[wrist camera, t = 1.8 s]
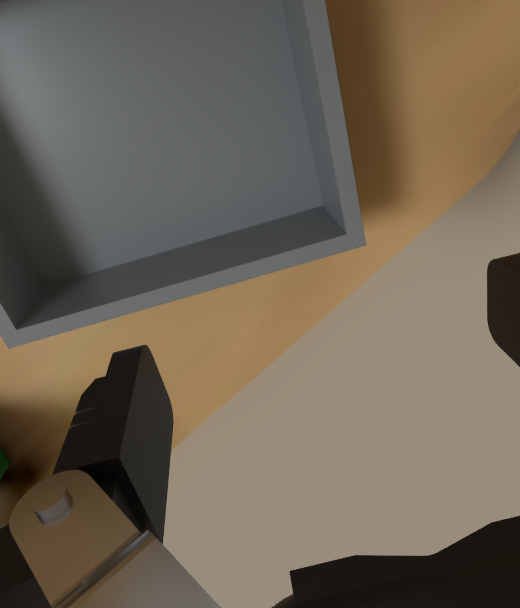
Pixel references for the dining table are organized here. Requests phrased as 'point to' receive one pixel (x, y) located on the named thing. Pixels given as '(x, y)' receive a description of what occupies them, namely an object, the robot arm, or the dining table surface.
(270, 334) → the dining table surface
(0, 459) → the milk carton
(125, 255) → the big crate
